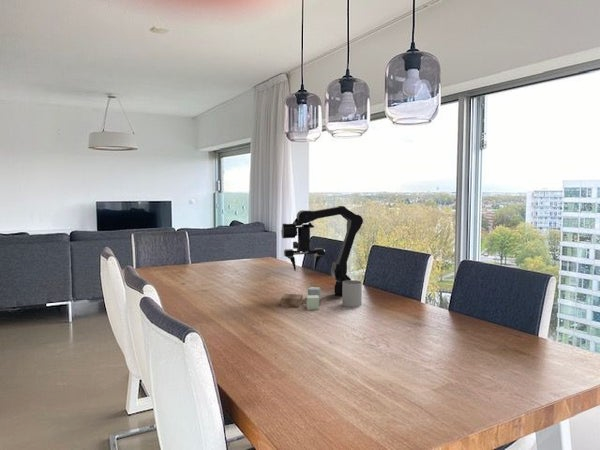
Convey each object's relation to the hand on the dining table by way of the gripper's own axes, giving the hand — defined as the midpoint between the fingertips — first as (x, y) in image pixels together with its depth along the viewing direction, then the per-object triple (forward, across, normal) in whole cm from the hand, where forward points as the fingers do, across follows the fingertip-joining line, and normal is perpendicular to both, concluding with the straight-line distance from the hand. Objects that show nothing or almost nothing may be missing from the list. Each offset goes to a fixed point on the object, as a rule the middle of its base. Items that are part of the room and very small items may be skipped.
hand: (304, 270), depth 220 cm
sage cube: (+12, 0, +21) cm, 24 cm away
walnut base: (+12, +8, +14) cm, 20 cm away
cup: (+13, -18, +18) cm, 29 cm away
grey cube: (+13, -3, +5) cm, 14 cm away
